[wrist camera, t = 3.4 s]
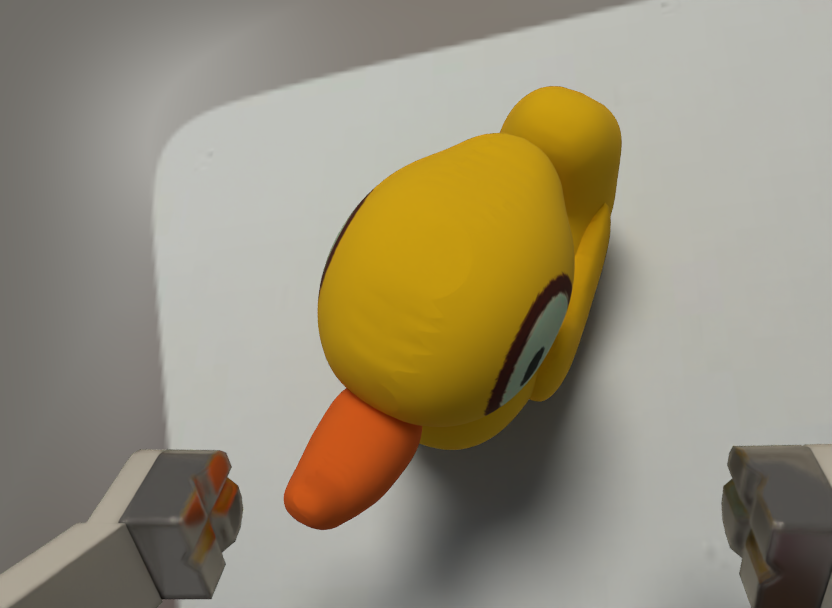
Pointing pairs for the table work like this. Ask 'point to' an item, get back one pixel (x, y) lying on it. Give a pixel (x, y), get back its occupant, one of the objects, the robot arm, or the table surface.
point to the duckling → (458, 297)
